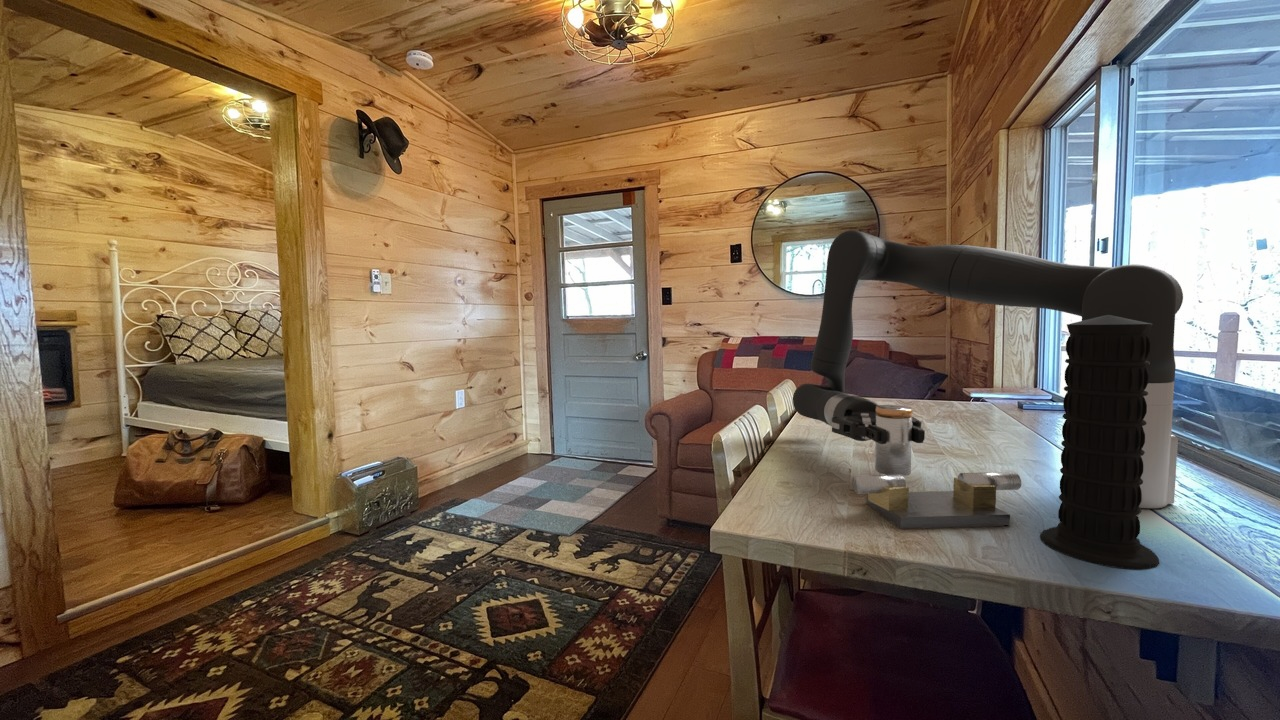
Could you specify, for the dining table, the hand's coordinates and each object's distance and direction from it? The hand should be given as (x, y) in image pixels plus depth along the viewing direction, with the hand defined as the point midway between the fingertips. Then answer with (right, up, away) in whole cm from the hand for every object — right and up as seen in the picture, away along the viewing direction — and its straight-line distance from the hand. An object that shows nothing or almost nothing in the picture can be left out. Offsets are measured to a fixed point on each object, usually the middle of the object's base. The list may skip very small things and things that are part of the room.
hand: (902, 436), depth 75 cm
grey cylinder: (0, -6, +3) cm, 7 cm away
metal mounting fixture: (0, -9, -7) cm, 12 cm away
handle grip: (+13, -10, -18) cm, 24 cm away
